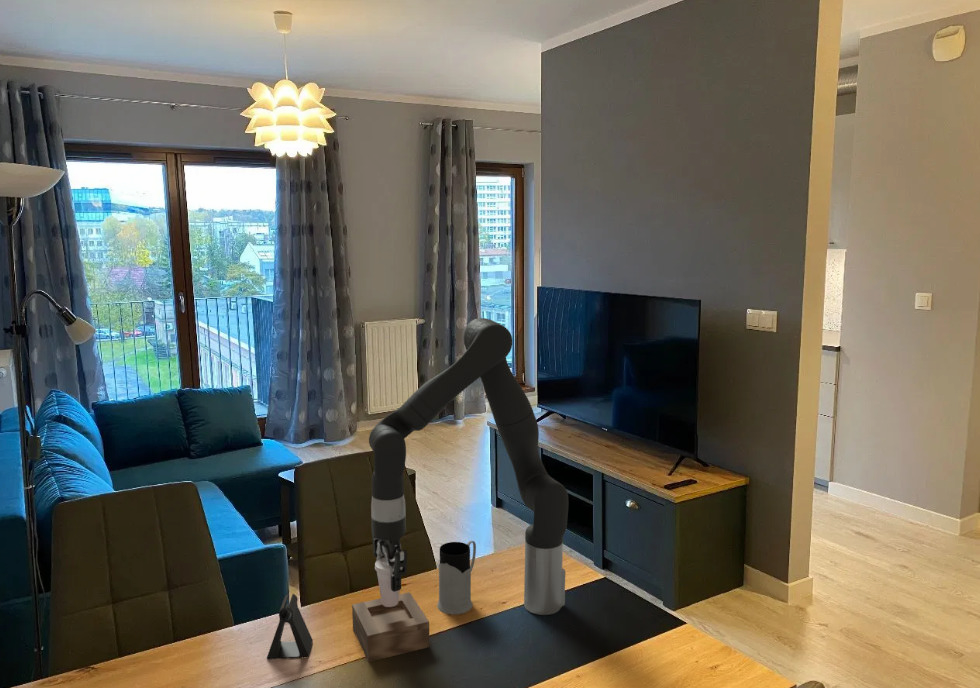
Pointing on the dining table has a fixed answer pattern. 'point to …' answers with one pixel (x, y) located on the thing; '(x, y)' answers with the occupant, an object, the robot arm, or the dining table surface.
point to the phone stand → (299, 631)
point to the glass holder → (455, 577)
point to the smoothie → (386, 584)
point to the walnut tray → (390, 627)
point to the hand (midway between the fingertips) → (389, 583)
